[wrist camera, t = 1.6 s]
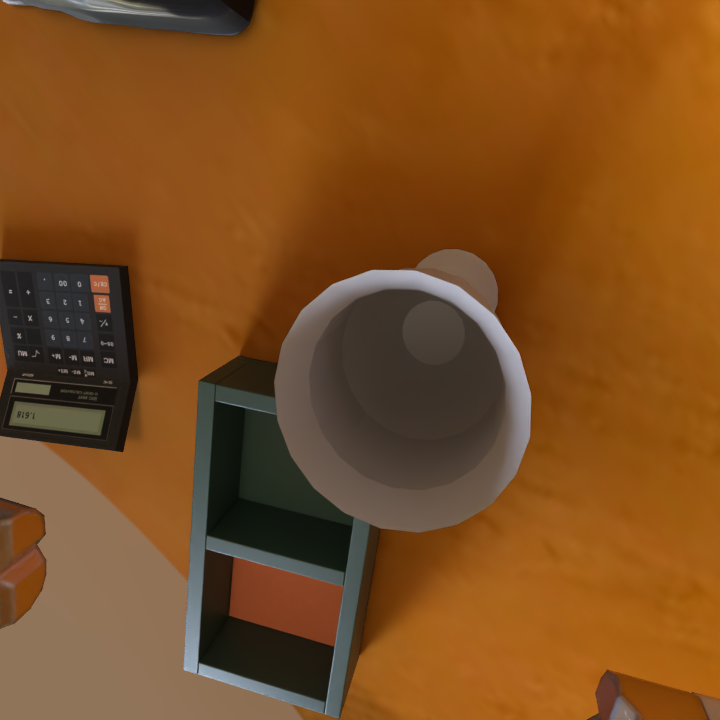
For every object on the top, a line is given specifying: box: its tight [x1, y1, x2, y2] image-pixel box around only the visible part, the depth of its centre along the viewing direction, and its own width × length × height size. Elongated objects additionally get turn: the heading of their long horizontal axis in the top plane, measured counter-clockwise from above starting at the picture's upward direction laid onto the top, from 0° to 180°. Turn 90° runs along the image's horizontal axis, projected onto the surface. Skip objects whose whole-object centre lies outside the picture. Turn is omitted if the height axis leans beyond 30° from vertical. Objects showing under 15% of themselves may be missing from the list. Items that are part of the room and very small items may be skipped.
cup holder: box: [184, 356, 380, 719], centre depth 36 cm, size 10×20×5 cm, turn 172°
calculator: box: [0, 259, 138, 452], centre depth 37 cm, size 9×12×3 cm
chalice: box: [274, 249, 531, 533], centre depth 24 cm, size 7×7×18 cm
